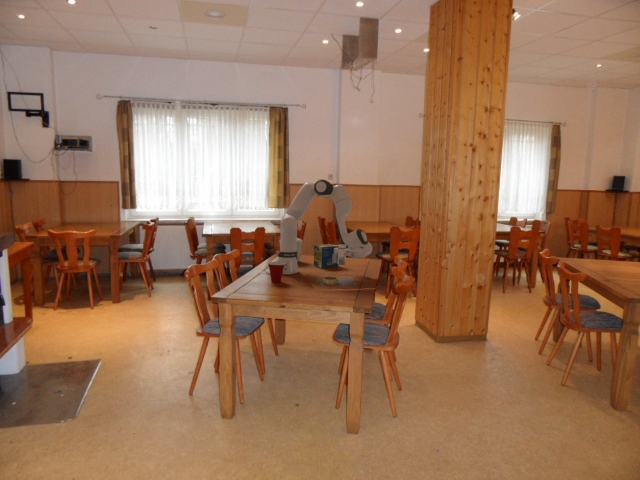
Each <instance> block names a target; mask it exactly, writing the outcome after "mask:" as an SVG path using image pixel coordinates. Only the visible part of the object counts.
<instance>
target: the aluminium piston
mask: <svg viewBox="0 0 640 480" xmlns="http://www.w3.org/2000/svg"><path fill="white" fill-rule="evenodd" d="M337 246H338V263H337V264H338V266H345V265H346V263H347V262H346V261H347V256H344V253H346V245H344V244H341V243H339V244H338V245H337Z"/></svg>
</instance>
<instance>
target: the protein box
mask: <svg viewBox="0 0 640 480" xmlns="http://www.w3.org/2000/svg"><path fill="white" fill-rule="evenodd" d="M334 248H338V245H337V244H332V243H327V244H314V245H313V267H315V266H317V267H316V268H319V267H320V268H319V269H327V268H326V267H330V268H335V267H334V266H338V267H339V265H338V264H337V263H338V254H334Z"/></svg>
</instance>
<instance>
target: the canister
mask: <svg viewBox="0 0 640 480" xmlns="http://www.w3.org/2000/svg"><path fill="white" fill-rule="evenodd" d="M278 242H279V245H280V246H279V248H280V249H281V239H279V241H278ZM303 243H304V240H303V239H301V238H298V237H297V253H298V258H297V263H299V261H300V260H301V254H302V248H303V247H302V245H303Z"/></svg>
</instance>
